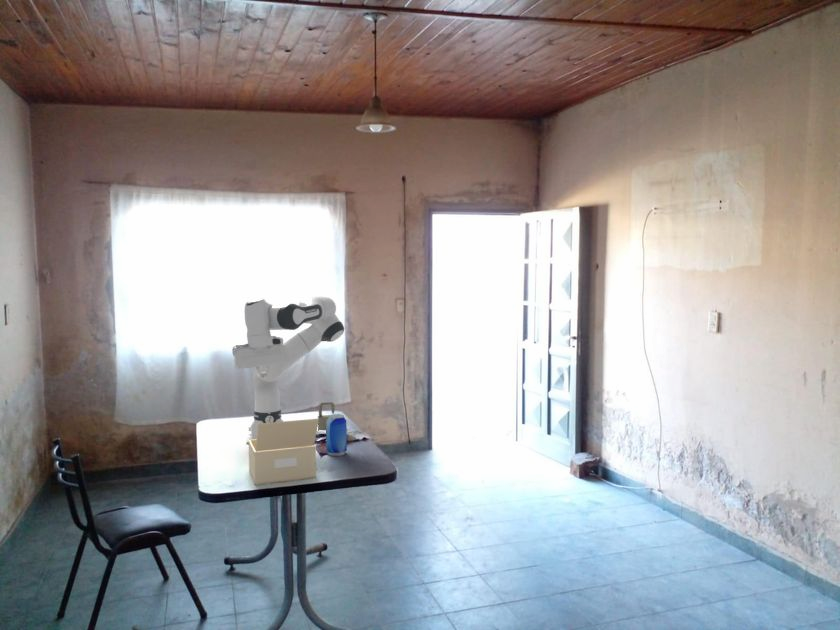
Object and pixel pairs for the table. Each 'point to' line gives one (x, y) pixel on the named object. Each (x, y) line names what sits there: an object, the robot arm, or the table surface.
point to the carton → (281, 464)
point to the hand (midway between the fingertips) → (263, 377)
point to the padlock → (324, 417)
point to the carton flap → (286, 434)
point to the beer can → (336, 435)
